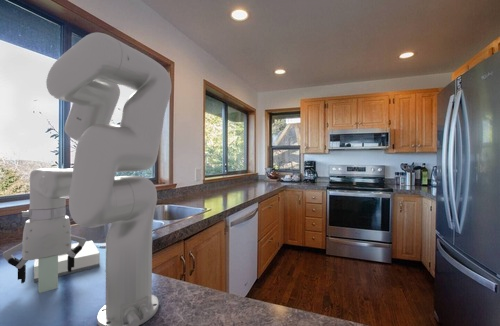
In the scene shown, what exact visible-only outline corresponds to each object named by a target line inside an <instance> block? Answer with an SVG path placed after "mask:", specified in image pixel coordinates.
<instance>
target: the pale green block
mask: <svg viewBox="0 0 500 326" xmlns="http://www.w3.org/2000/svg"><path fill="white" fill-rule="evenodd" d="M37 283H38V289H37V290H38V292H37V293H38V294H41V293H46V292H48V291H53V290H56V289H58V288H59V277H58V255H56V256H51V257H46V258H41V259H38V282H37Z"/></svg>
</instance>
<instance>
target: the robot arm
mask: <svg viewBox="0 0 500 326" xmlns="http://www.w3.org/2000/svg"><path fill="white" fill-rule="evenodd" d="M45 83H46V88H47V91H48V93H49V95H51V97H53V98H54V99H57V100H59V101H64V102H69V103H71V106H70V110H69V112H68V114H67V119H66V121H65V124H64V127H63V131H64V133H65V134H66V135H67V136H68V138H71V139H73V140H74V141H77V145H76V148H75V152H74V153H75V154H74V160H73V167H72V168H36V169H33V170H32V171H31V172H30V174H29V209H27V210H26V211H21V216H22V218H23V217H26V218H28V219H27V220H26V221H25V223H24V227H23V232H22V242H20V243H18V244H16V245H15V246H13V247H11V248H9V249H6V250H5V251H3V252H2V255H1V256H2V258H3V259H5V261H6V262H7V263H8V264H9V265H11V266H13V267H15V268H16V269H17V281H19V280H21V281H20V283H21V284H24V283H26V275H27V273H26V271H27V269H26V268H27V266H26V264H27V263H28V262H29V261H33V260H34V261H35V259H41V258H46V257H51V256H56V255H61V254H65V253H66V254H68V266H67V269H68V272H71V268H72V267H74V257H75V256H76V254H77V253H78V252H79V251H80V250H81V249H82V247H83V246H84V244H85V242H86V241H87V239H86V238H85V237H81V236H77V235H74V234H72V226H71V225H72V224H71V220H70V217H71V219H72V220H73V222H74V223H75V224H76V225H78V226H79V227H83V228H98V227H102V226H106V225H109V224H110V226H109V228H108V231H107V234H106V239H105V305H103V307H101V308H100V309H99V311H98V312H97V316H96V321H97V325H98V326H140V325H143V324H144V323H146V322H147V321H149V320H150V319H151V318H153V317H154V316H155V315H156V313H157V312H158V310H159V304H160V303H159V299H158V297H157V296H156V295H154V294H153V292H152V291H153V285H152V284H153V281H152V279H153V278H152V277H153V227H154V226H153V225H154V217H155V212H156V207H157V204H158V203H157V202H158V192H157V191H158V190H157V188H156V185H155V184H154V183H153V182H152V180H151V179H150V178H147V177H145V176H141V175H120V176H119V175H118V176H116V174H117V173H128V172H142V171H146V170H147V171H148V170H150V169H151V168H153V167H154V165H155V164H156V162H157V160H158V156H159V151H160V144H161V138H162V133H163V128H164V119H165V114H166V112H167V111H166V110H167V107H168V104H169V101H170V98H171V94H172V79H171V76H170V74H169V72H168V71H167V70H166V68H165V67H164V66H163V65H162V64H160V63H159V62H157V61H156V60H155V59H153V58H151V57H150V56H148V55H146V54H145V53H142V52H141V51H139V50H138V49H136V48H133V47H131V46H130V45H128V44H126V43H125V42H122V41H121V40H119V39H117V38H116V37H113V36H111V35H109V34H107V33H104V32H103V33H102V32H98V31H96V32H91V33H89V34H87V35H85V36H84V37H82V38H81V39H80V40H78V42H76V43H75V44H73V46H71V47H70V48H69V49H68V50H66V51H65V52H64V53H63V54H61V55H60V57H59V58H58V59H57V60H55V61H54V63H53V65H51V67H50V69H49V70H48V73H47V76H46V81H45ZM120 86H122V87H124V88H128V89H131V90H133V91H135V92H132V94H131V95H130V96H129V98H128V99H127V100H126V101H125V102H124V105H123V108H122V114H121V120H120V124H119V125H116V124H110V123H111V120H112V118H113V115H114V114H115V113H114V112H115V110H116V107H117V104H118V102H119V99H120V95H121V89H120ZM67 198H68V209H69V211H68V212H69V214H70V217H69V215H67V214H66V203H67V202H66V199H67ZM72 242H75V243H79V244H78V246H76V247H75V248H74V249H73V250H72V249H71V244H72ZM20 250H21V256H22V257H20V259H18V258H16V257H14V256H13V254H16V253H17V252H19V251H20Z"/></svg>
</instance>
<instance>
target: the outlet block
mask: <svg viewBox="0 0 500 326" xmlns="http://www.w3.org/2000/svg"><path fill="white" fill-rule="evenodd" d="M78 244H79V242H75V243H71V249H72V250H73V249H74V248H75V247H76V246H78ZM100 255H101V254H100V251H99V249H98V248H97V246H96V244H95V243H94V241H93V240H86V242H85V244H84V246H83V247H82V249H81V250H80V251H79V252H78V253H77V254H76V256H75V257H74V267H72V268H71V272H68V269H67V266H68V254H66V253H65V254H61V255H58V278H59V277H62V276H66V275H71V274H74V273H79V272H83V271H86V270H91V269H95V268H98V267H100V266H101V265H100V264H101V263H100V262H101V261H100V260H101V259H100V257H101V256H100ZM33 283H38V259H35V260H34V264H33Z"/></svg>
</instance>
